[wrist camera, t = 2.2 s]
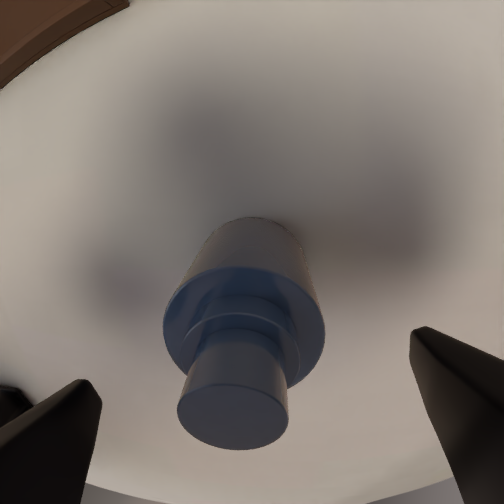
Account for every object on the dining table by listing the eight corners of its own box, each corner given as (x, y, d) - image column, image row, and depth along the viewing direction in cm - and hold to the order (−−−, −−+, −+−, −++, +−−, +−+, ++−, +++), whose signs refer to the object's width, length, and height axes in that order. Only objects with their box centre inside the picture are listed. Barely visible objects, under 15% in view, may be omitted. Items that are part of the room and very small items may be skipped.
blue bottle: (216, 323, 15) (176, 473, 7) (186, 231, 13) (86, 346, 5) (313, 304, 14) (348, 458, 6) (293, 205, 13) (334, 308, 5)
